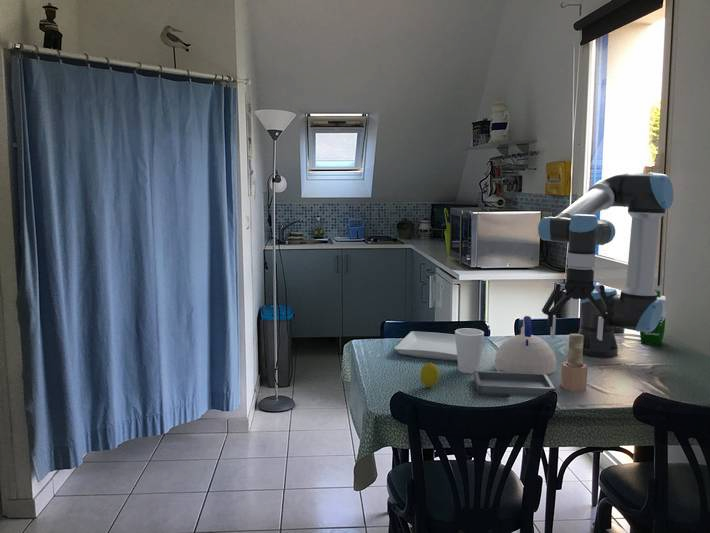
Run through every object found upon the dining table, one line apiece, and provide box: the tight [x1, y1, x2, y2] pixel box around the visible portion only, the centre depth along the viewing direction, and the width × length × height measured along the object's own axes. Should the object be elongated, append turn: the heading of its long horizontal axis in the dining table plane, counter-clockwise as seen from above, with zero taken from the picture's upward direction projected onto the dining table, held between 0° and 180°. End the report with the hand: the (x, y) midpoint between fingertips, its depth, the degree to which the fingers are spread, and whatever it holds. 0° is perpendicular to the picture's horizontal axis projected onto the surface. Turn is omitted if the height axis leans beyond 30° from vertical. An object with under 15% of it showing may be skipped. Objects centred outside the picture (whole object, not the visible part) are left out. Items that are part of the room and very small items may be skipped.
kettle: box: [493, 315, 557, 375], centre depth 212 cm, size 20×21×18 cm
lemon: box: [420, 361, 440, 389], centre depth 193 cm, size 6×6×8 cm
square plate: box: [393, 330, 458, 362], centre depth 233 cm, size 27×27×4 cm
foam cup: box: [454, 327, 485, 374], centre depth 210 cm, size 10×9×13 cm
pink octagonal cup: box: [560, 360, 589, 392], centre depth 192 cm, size 7×7×8 cm
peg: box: [567, 333, 584, 367], centre depth 191 cm, size 4×4×16 cm
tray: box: [473, 370, 556, 398], centre depth 193 cm, size 22×14×3 cm, turn 84°
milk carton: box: [639, 289, 667, 346], centre depth 246 cm, size 9×9×20 cm
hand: (575, 338), depth 190 cm, fingers open, 13 cm apart
